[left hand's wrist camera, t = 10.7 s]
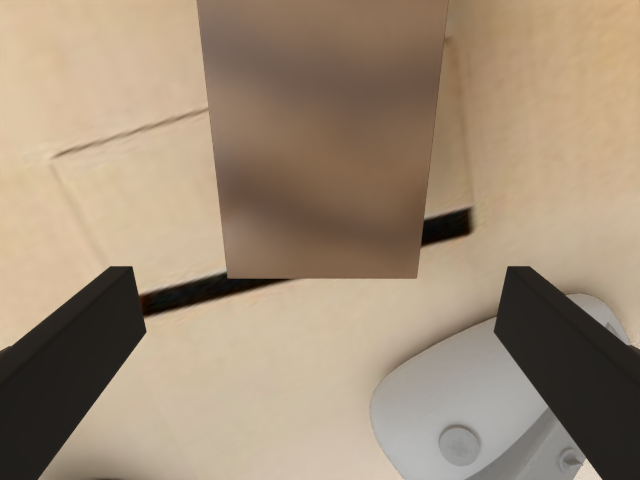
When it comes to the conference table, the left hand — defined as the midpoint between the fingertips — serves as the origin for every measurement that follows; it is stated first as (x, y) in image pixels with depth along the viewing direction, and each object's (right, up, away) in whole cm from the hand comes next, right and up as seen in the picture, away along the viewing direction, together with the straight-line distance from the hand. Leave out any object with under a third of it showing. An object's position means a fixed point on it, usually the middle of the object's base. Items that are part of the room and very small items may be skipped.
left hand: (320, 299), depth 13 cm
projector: (+17, -11, +23) cm, 31 cm away
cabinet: (0, +14, +13) cm, 19 cm away
